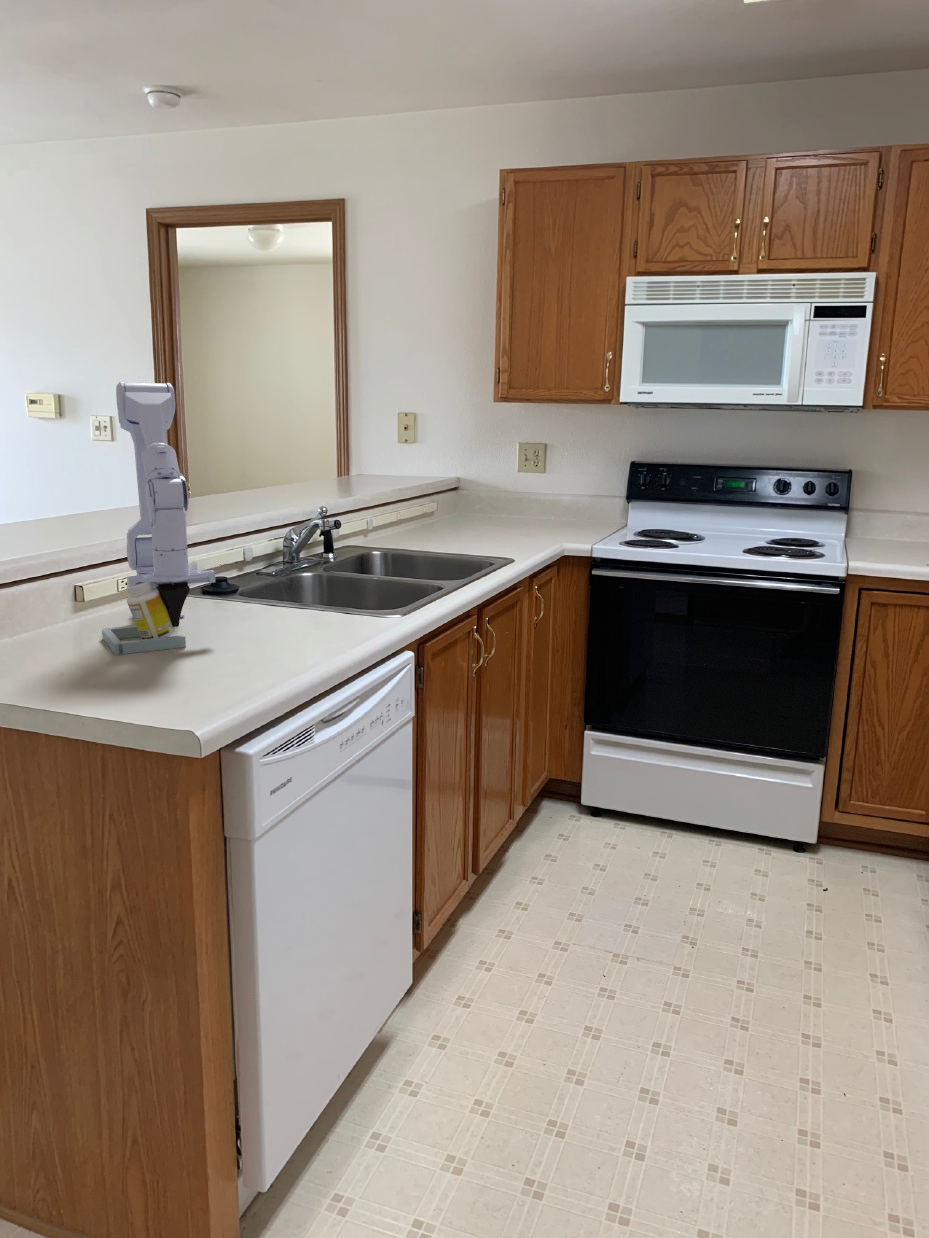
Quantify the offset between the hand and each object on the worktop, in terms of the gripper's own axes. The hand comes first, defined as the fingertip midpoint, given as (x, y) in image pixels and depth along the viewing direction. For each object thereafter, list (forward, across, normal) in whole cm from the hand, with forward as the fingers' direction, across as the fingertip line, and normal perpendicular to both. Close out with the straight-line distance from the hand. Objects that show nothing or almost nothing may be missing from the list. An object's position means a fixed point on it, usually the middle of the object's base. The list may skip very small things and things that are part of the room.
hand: (174, 625), depth 160 cm
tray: (+2, -5, 0) cm, 6 cm away
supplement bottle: (+2, -3, 0) cm, 3 cm away
